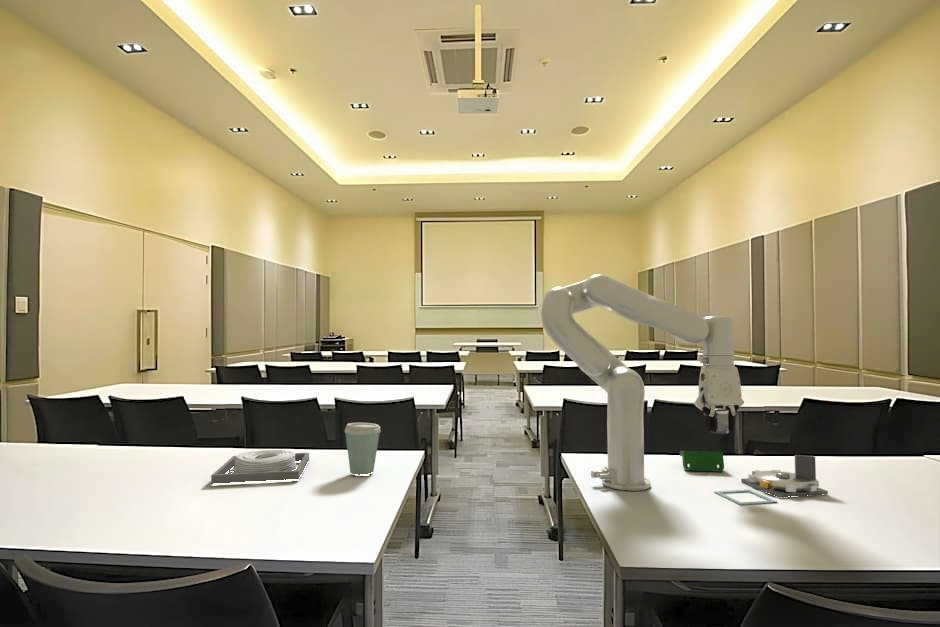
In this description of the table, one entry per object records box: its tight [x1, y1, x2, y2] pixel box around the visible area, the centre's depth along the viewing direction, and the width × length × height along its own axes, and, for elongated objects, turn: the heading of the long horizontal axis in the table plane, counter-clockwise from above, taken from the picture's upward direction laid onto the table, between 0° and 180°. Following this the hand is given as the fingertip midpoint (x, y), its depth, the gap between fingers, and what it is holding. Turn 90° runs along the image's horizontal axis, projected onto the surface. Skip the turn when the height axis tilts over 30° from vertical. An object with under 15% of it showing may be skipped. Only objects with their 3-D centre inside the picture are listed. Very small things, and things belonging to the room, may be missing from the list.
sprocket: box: [747, 454, 820, 492], centre depth 142 cm, size 16×16×8 cm
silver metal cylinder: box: [710, 407, 730, 435], centre depth 143 cm, size 4×4×6 cm
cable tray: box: [210, 452, 310, 485], centre depth 159 cm, size 23×23×3 cm
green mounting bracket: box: [679, 450, 725, 472], centre depth 162 cm, size 12×6×9 cm, turn 75°
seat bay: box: [714, 489, 778, 506], centre depth 134 cm, size 10×10×1 cm
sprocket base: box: [741, 477, 829, 498], centre depth 142 cm, size 14×14×1 cm
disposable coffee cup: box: [344, 422, 381, 475], centre depth 158 cm, size 11×11×15 cm
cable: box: [228, 449, 297, 474], centre depth 160 cm, size 18×18×6 cm
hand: (719, 429), depth 143 cm, fingers closed on silver metal cylinder, 4 cm apart
